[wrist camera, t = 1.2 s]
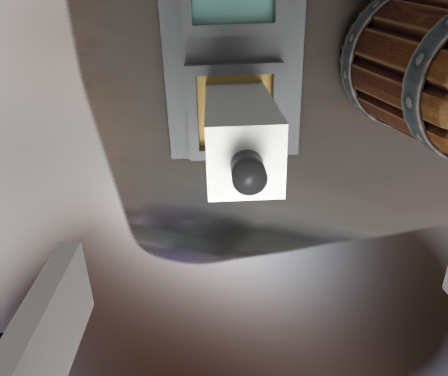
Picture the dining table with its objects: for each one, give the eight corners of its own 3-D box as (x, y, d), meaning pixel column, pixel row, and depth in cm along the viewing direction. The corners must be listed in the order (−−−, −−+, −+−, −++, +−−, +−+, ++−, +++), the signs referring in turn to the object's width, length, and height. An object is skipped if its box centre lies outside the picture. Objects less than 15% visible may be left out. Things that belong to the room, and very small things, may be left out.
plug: (205, 82, 33) (203, 139, 20) (262, 80, 33) (295, 135, 20) (208, 145, 35) (208, 231, 22) (261, 143, 35) (291, 228, 22)
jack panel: (151, -87, 29) (146, -94, 26) (308, -91, 29) (316, -98, 27) (172, 155, 36) (170, 166, 34) (296, 151, 36) (301, 161, 34)
